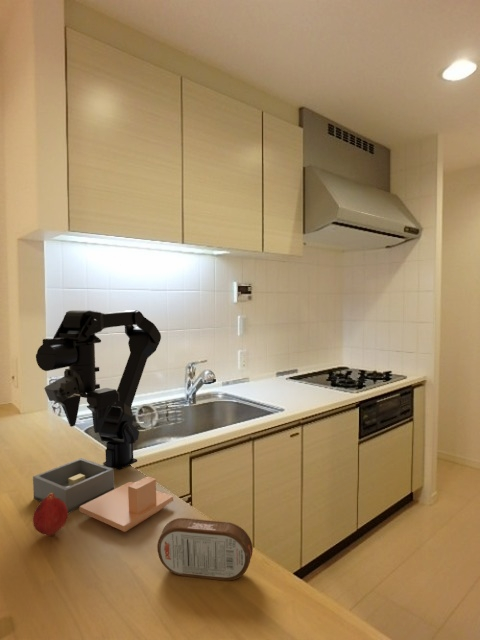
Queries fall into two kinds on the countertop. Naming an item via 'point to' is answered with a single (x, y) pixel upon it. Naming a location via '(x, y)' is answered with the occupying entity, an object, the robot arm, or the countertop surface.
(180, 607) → the countertop surface
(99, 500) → the lid
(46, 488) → the tub
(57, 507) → the onion
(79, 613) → the countertop surface
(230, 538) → the tin
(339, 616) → the countertop surface
